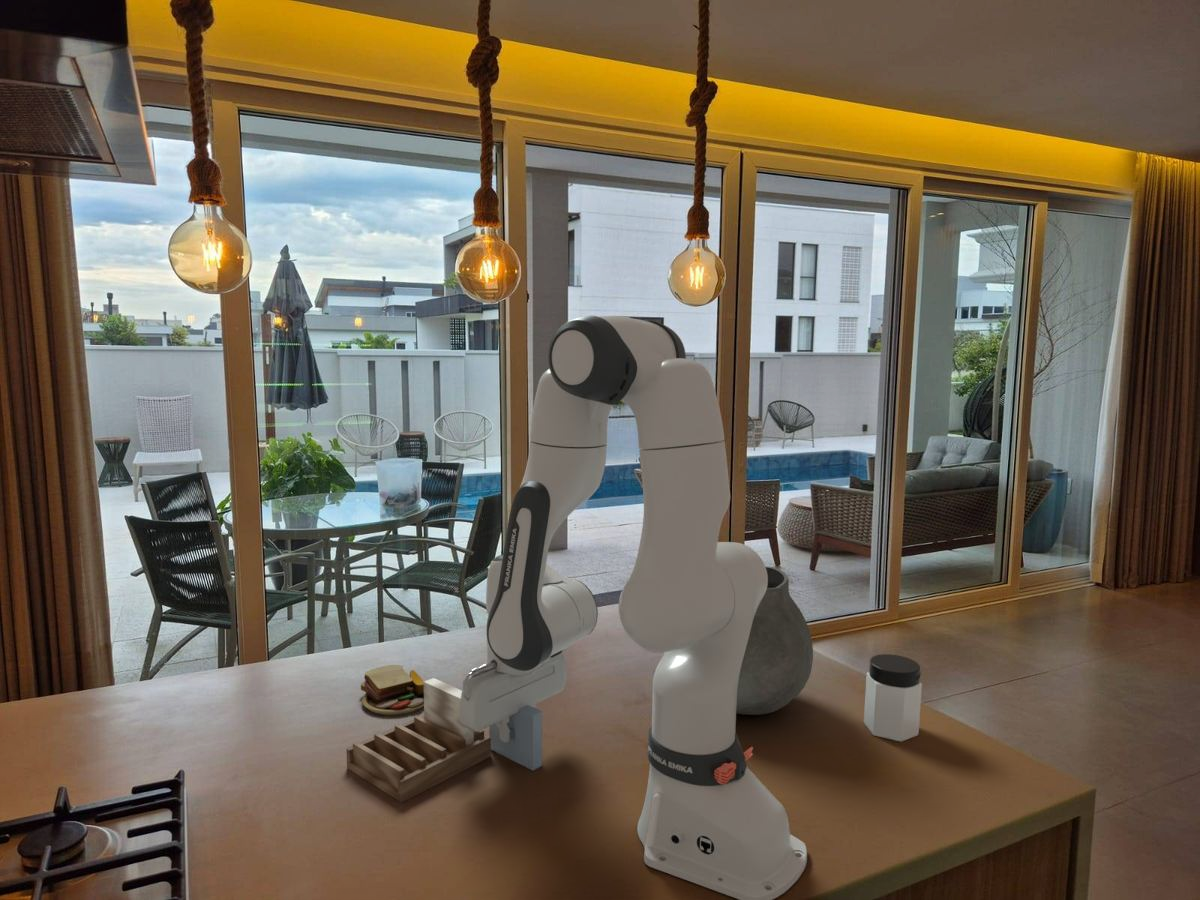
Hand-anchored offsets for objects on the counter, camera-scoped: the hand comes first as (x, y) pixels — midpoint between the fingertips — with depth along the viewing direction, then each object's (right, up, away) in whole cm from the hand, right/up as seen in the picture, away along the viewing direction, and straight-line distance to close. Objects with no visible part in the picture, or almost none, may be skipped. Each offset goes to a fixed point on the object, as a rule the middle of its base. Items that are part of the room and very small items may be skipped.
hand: (515, 735), depth 125 cm
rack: (-15, -4, -1) cm, 15 cm away
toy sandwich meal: (-24, -1, +20) cm, 31 cm away
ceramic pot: (+40, -2, +19) cm, 44 cm away
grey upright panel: (0, -4, 0) cm, 4 cm away
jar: (+64, -3, +11) cm, 65 cm away
